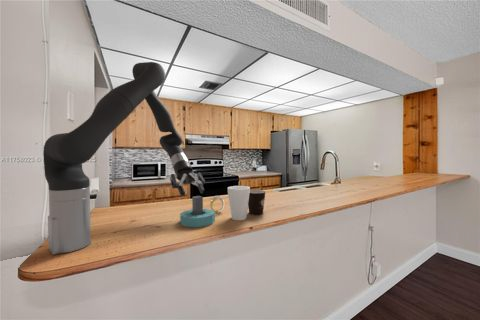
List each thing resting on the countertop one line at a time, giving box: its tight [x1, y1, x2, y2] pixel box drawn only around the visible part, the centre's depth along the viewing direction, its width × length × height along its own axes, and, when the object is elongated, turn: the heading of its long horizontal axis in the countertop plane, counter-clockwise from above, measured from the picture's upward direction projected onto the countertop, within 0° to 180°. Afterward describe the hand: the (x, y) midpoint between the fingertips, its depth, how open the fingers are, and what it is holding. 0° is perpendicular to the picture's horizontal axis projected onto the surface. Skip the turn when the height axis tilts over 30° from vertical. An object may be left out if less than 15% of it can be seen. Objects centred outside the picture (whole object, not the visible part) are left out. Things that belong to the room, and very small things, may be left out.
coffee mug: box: [248, 189, 266, 216], centre depth 95 cm, size 12×9×10 cm
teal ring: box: [179, 208, 216, 228], centre depth 83 cm, size 13×13×4 cm
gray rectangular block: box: [191, 195, 204, 215], centre depth 83 cm, size 3×3×10 cm
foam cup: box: [227, 185, 251, 221], centre depth 87 cm, size 10×9×13 cm
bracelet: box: [209, 195, 226, 214], centre depth 96 cm, size 7×3×8 cm, turn 115°
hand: (193, 193), depth 85 cm, fingers open, 8 cm apart
